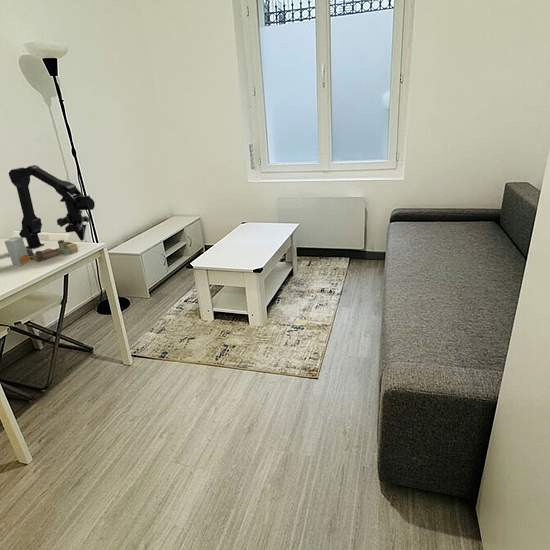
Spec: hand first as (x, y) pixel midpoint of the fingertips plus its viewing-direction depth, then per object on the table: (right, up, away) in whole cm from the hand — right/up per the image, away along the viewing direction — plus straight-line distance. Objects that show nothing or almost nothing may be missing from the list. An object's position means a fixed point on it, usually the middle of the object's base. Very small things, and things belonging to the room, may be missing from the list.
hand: (82, 240), depth 195 cm
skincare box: (-20, -12, -16) cm, 28 cm away
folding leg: (-4, -6, -5) cm, 9 cm away
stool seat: (-13, -8, -9) cm, 17 cm away
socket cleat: (-5, -7, -8) cm, 11 cm away
